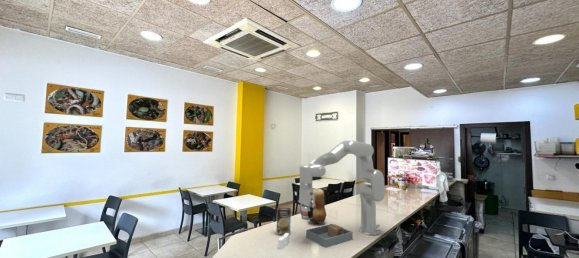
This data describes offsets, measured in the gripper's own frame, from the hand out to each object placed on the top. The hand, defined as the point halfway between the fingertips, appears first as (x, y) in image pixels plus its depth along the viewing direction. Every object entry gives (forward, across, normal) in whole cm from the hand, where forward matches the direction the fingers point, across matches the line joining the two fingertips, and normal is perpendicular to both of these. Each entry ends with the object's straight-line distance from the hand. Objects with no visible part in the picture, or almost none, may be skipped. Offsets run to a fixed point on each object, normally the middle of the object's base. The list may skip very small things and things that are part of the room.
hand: (306, 215), depth 144 cm
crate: (+16, -3, -15) cm, 22 cm away
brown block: (+16, -3, -20) cm, 26 cm away
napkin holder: (+16, +5, +14) cm, 22 cm away
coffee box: (+16, +20, +4) cm, 26 cm away
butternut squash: (+17, +24, -28) cm, 41 cm away
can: (+1, 0, 0) cm, 1 cm away
